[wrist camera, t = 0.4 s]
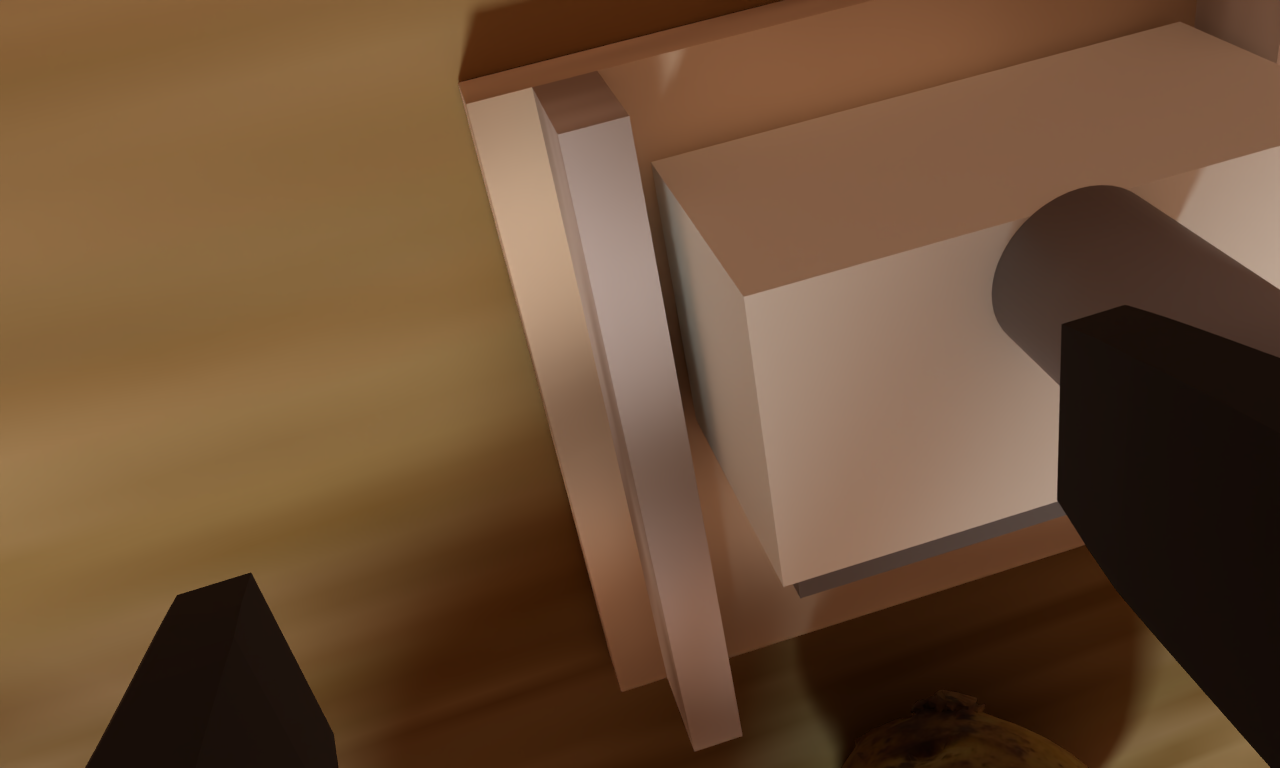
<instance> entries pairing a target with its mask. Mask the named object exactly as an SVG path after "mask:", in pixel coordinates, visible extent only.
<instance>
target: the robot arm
mask: <svg viewBox="0 0 1280 768" xmlns="http://www.w3.org/2000/svg"><path fill="white" fill-rule="evenodd" d="M1057 501H1058V502H1059V504H1060V506H1061V507H1062V509H1063V510H1064V512H1065V513H1066V515H1067V517H1068V518H1069V520H1070V521H1071V523H1072V524H1073V526H1074V528H1075V529H1076V531H1077V532H1078V534H1079V536H1080V537H1081V539H1082V540H1083V542H1084V543H1085V545H1086V547H1087V548H1088V550H1089V551H1090V553H1091V554H1092V556H1093V557H1094V558H1095V560H1096V561H1097V563H1098V564H1099V566H1100V567H1101V569H1102V570H1103V572H1104V573H1105V575H1106V576H1107V577H1108V579H1109V580H1110V582H1111V583H1112V585H1113V586H1114V588H1115V589H1116V591H1117V592H1118V593H1119V594H1120V595H1121V596H1122V598H1123V599H1124V600H1125V601H1126V602H1127V604H1128V605H1129V606H1130V607H1131V608H1132V610H1133V611H1134V612H1135V613H1136V614H1137V615H1138V617H1139V618H1140V619H1141V620H1142V621H1143V622H1144V624H1145V625H1146V626H1147V627H1148V628H1149V629H1150V631H1151V632H1152V633H1153V634H1154V635H1155V636H1156V637H1157V639H1158V640H1159V641H1160V642H1161V643H1162V644H1163V646H1164V647H1165V648H1166V649H1167V650H1168V651H1169V653H1170V654H1171V655H1172V656H1173V657H1174V658H1175V659H1176V661H1177V662H1178V663H1179V664H1180V665H1181V666H1182V667H1183V669H1184V670H1185V671H1186V672H1187V673H1188V674H1189V675H1190V677H1191V678H1192V679H1193V680H1194V681H1195V682H1196V683H1197V684H1198V686H1199V687H1200V688H1201V689H1202V690H1203V691H1204V692H1205V694H1206V695H1207V696H1208V697H1209V698H1210V699H1211V700H1212V702H1213V703H1214V704H1215V705H1216V706H1217V707H1218V708H1219V709H1220V711H1221V712H1222V713H1223V714H1224V715H1225V716H1226V717H1227V719H1228V720H1229V721H1230V722H1231V723H1232V724H1233V725H1234V727H1235V728H1236V729H1237V730H1238V731H1239V732H1240V733H1241V735H1242V736H1243V737H1244V738H1245V739H1246V740H1247V741H1248V742H1249V744H1250V745H1251V746H1252V747H1253V748H1254V749H1255V750H1256V752H1257V753H1258V754H1259V755H1260V756H1261V757H1262V758H1263V760H1264V761H1265V762H1266V763H1267V764H1268V765H1269V766H1270V768H1280V358H1279V357H1276V356H1274V355H1271V354H1268V353H1265V352H1263V351H1260V350H1257V349H1254V348H1252V347H1249V346H1246V345H1243V344H1241V343H1238V342H1235V341H1232V340H1230V339H1227V338H1224V337H1221V336H1219V335H1216V334H1213V333H1210V332H1207V331H1205V330H1202V329H1199V328H1196V327H1193V326H1191V325H1188V324H1185V323H1182V322H1179V321H1176V320H1173V319H1170V318H1167V317H1164V316H1161V315H1158V314H1155V313H1152V312H1149V311H1145V310H1142V309H1138V308H1135V307H1132V306H1128V305H1122V306H1119V307H1116V308H1112V309H1109V310H1106V311H1103V312H1099V313H1096V314H1093V315H1090V316H1086V317H1083V318H1080V319H1077V320H1073V321H1070V322H1067V323H1063V324H1061V363H1060V401H1059V439H1058V477H1057ZM85 768H338V762H337V755H336V748H335V740H334V734H333V732H332V730H331V728H330V726H329V724H328V722H327V720H326V718H325V716H324V714H323V712H322V710H321V708H320V706H319V704H318V702H317V700H316V698H315V696H314V695H313V693H312V691H311V689H310V687H309V685H308V683H307V681H306V679H305V677H304V675H303V673H302V671H301V669H300V667H299V665H298V663H297V661H296V659H295V657H294V655H293V653H292V652H291V650H290V648H289V646H288V644H287V642H286V640H285V638H284V636H283V634H282V632H281V630H280V628H279V626H278V624H277V622H276V620H275V618H274V616H273V614H272V612H271V610H270V608H269V607H268V605H267V603H266V601H265V599H264V597H263V595H262V593H261V591H260V589H259V587H258V585H257V583H256V581H255V579H254V577H253V575H252V573H248V574H245V575H241V576H238V577H235V578H232V579H228V580H225V581H222V582H219V583H215V584H212V585H209V586H206V587H202V588H199V589H196V590H193V591H189V592H186V593H183V594H180V595H177V596H176V598H175V600H174V602H173V603H172V605H171V607H170V608H169V610H168V612H167V614H166V616H165V618H164V619H163V621H162V623H161V625H160V627H159V629H158V631H157V632H156V634H155V636H154V638H153V640H152V642H151V644H150V646H149V648H148V650H147V652H146V654H145V655H144V657H143V659H142V661H141V663H140V665H139V667H138V669H137V671H136V673H135V675H134V677H133V679H132V681H131V683H130V684H129V686H128V688H127V690H126V692H125V694H124V696H123V698H122V700H121V702H120V704H119V706H118V707H117V709H116V711H115V713H114V715H113V717H112V719H111V721H110V723H109V725H108V727H107V728H106V730H105V732H104V734H103V736H102V738H101V740H100V742H99V744H98V745H97V747H96V749H95V751H94V753H93V754H92V756H91V758H90V760H89V762H88V764H87V765H86V767H85Z"/></svg>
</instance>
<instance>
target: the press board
mask: <svg viewBox="0 0 1280 768" xmlns="http://www.w3.org/2000/svg"><path fill="white" fill-rule="evenodd" d="M1176 22H1182V23H1185V24H1187V25H1189V26H1191V27H1194V28H1196V29H1198V30H1201V31H1203V32H1205V33H1207V34H1210V35H1212V36H1214V37H1217V38H1219V39H1221V40H1223V41H1226V42H1228V43H1230V44H1233V45H1235V46H1237V47H1239V48H1242V49H1244V50H1246V51H1249V52H1251V53H1253V54H1255V55H1258V56H1260V57H1262V58H1265V59H1267V60H1269V61H1271V62H1274V63H1276V64H1278V65H1280V0H783V1H779V2H775V3H771V4H767V5H763V6H759V7H755V8H751V9H748V10H744V11H740V12H736V13H732V14H728V15H724V16H720V17H716V18H712V19H708V20H704V21H700V22H696V23H692V24H688V25H684V26H680V27H676V28H672V29H668V30H665V31H661V32H657V33H653V34H649V35H645V36H641V37H637V38H633V39H629V40H625V41H621V42H617V43H613V44H609V45H605V46H601V47H597V48H593V49H589V50H586V51H582V52H578V53H574V54H570V55H566V56H562V57H558V58H554V59H550V60H546V61H542V62H538V63H534V64H530V65H526V66H522V67H518V68H514V69H510V70H506V71H503V72H499V73H495V74H491V75H487V76H483V77H479V78H475V79H471V80H467V81H463V82H459V83H458V85H459V89H460V93H461V97H462V100H463V104H464V108H465V112H466V115H467V119H468V123H469V127H470V130H471V134H472V138H473V142H474V146H475V149H476V153H477V157H478V161H479V164H480V168H481V172H482V176H483V179H484V183H485V187H486V191H487V194H488V198H489V202H490V206H491V210H492V213H493V217H494V221H495V225H496V228H497V232H498V236H499V240H500V243H501V247H502V251H503V255H504V258H505V262H506V266H507V270H508V274H509V277H510V281H511V285H512V289H513V292H514V296H515V300H516V304H517V307H518V311H519V315H520V319H521V322H522V326H523V330H524V334H525V338H526V341H527V345H528V349H529V353H530V356H531V360H532V364H533V368H534V371H535V375H536V379H537V383H538V386H539V390H540V394H541V398H542V402H543V405H544V409H545V413H546V417H547V420H548V424H549V428H550V432H551V435H552V439H553V443H554V447H555V450H556V454H557V458H558V462H559V466H560V469H561V473H562V477H563V481H564V484H565V488H566V492H567V496H568V499H569V503H570V507H571V511H572V514H573V518H574V522H575V526H576V530H577V533H578V537H579V541H580V545H581V548H582V552H583V556H584V560H585V563H586V567H587V571H588V575H589V578H590V582H591V586H592V590H593V594H594V597H595V601H596V605H597V609H598V612H599V616H600V620H601V624H602V627H603V631H604V635H605V639H606V642H607V646H608V650H609V654H610V658H611V661H612V664H613V667H614V670H615V673H616V677H617V680H618V683H619V686H620V689H621V692H624V691H627V690H630V689H633V688H636V687H639V686H643V685H646V684H649V683H652V682H655V681H658V680H661V679H665V678H668V681H669V684H670V687H671V689H672V692H673V695H674V698H675V700H676V703H677V706H678V708H679V711H680V714H681V717H682V719H683V722H684V725H685V728H686V730H687V733H688V736H689V739H690V741H691V744H692V747H693V749H694V752H695V751H698V750H701V749H704V748H707V747H710V746H713V745H716V744H720V743H723V742H726V741H729V740H732V739H735V738H738V737H741V736H743V735H742V729H741V724H740V718H739V713H738V707H737V702H736V697H735V691H734V686H733V680H732V675H731V669H730V664H729V658H731V657H734V656H737V655H740V654H743V653H747V652H750V651H753V650H756V649H759V648H762V647H765V646H769V645H772V644H775V643H778V642H781V641H784V640H787V639H791V638H794V637H797V636H800V635H803V634H806V633H809V632H813V631H816V630H819V629H822V628H825V627H828V626H832V625H835V624H838V623H841V622H844V621H847V620H850V619H854V618H857V617H860V616H863V615H866V614H869V613H872V612H876V611H879V610H882V609H885V608H888V607H891V606H895V605H898V604H901V603H904V602H907V601H910V600H913V599H917V598H920V597H923V596H926V595H929V594H932V593H935V592H939V591H942V590H945V589H948V588H951V587H954V586H958V585H961V584H964V583H967V582H970V581H973V580H976V579H980V578H983V577H986V576H989V575H992V574H995V573H998V572H1002V571H1005V570H1008V569H1011V568H1014V567H1017V566H1020V565H1024V564H1027V563H1030V562H1033V561H1036V560H1039V559H1043V558H1046V557H1049V556H1052V555H1055V554H1058V553H1061V552H1065V551H1068V550H1071V549H1074V548H1077V547H1080V546H1083V545H1085V543H1084V542H1083V540H1082V539H1081V537H1080V536H1079V534H1078V532H1077V531H1076V529H1075V528H1074V526H1073V524H1072V523H1071V521H1070V520H1069V518H1068V517H1067V515H1065V516H1062V517H1058V518H1055V519H1052V520H1049V521H1046V522H1043V523H1039V524H1036V525H1033V526H1030V527H1027V528H1023V529H1020V530H1017V531H1014V532H1011V533H1007V534H1004V535H1001V536H998V537H995V538H992V539H988V540H985V541H982V542H979V543H976V544H972V545H969V546H966V547H963V548H960V549H957V550H953V551H950V552H947V553H944V554H941V555H937V556H934V557H931V558H928V559H925V560H921V561H918V562H915V563H912V564H909V565H906V566H902V567H899V568H896V569H893V570H890V571H886V572H883V573H880V574H877V575H874V576H870V577H867V578H864V579H861V580H858V581H855V582H851V583H848V584H845V585H842V586H839V587H835V588H832V589H829V590H826V591H823V592H819V593H816V594H813V595H810V596H807V597H804V598H800V597H799V595H798V593H797V591H796V589H795V588H794V586H793V584H792V585H788V586H785V587H783V585H782V583H781V581H780V579H779V577H778V575H777V574H776V572H775V570H774V568H773V566H772V564H771V562H770V560H769V558H768V556H767V554H766V552H765V551H764V549H763V547H762V545H761V543H760V541H759V539H758V537H757V535H756V533H755V531H754V530H753V528H752V526H751V524H750V522H749V520H748V518H747V516H746V514H745V512H744V510H743V508H742V507H741V505H740V503H739V501H738V499H737V497H736V495H735V493H734V491H733V489H732V487H731V485H730V484H729V482H728V480H727V478H726V476H725V474H724V472H723V470H722V468H721V466H720V464H719V462H718V461H717V459H716V457H715V455H714V453H713V451H712V449H711V447H710V445H709V443H708V441H707V439H706V438H705V436H704V434H703V432H702V430H701V428H700V426H699V424H698V422H697V420H696V416H695V410H694V405H693V399H692V393H691V388H690V382H689V376H688V371H687V365H686V359H685V354H684V348H683V342H682V337H681V331H680V325H679V320H678V314H677V308H676V302H675V297H674V291H673V285H672V280H671V274H670V268H669V263H668V257H667V251H666V246H665V240H664V234H663V229H662V223H661V217H660V212H659V206H658V200H657V195H656V189H655V183H654V178H653V172H652V166H651V162H653V161H657V160H661V159H664V158H668V157H672V156H676V155H680V154H683V153H687V152H691V151H695V150H698V149H702V148H706V147H710V146H713V145H717V144H721V143H725V142H728V141H732V140H736V139H740V138H743V137H747V136H751V135H755V134H759V133H762V132H766V131H770V130H774V129H777V128H781V127H785V126H789V125H792V124H796V123H800V122H804V121H807V120H811V119H815V118H819V117H822V116H826V115H830V114H834V113H838V112H841V111H845V110H849V109H853V108H856V107H860V106H864V105H868V104H871V103H875V102H879V101H883V100H886V99H890V98H894V97H898V96H901V95H905V94H909V93H913V92H917V91H920V90H924V89H928V88H932V87H935V86H939V85H943V84H947V83H950V82H954V81H958V80H962V79H965V78H969V77H973V76H977V75H980V74H984V73H988V72H992V71H996V70H999V69H1003V68H1007V67H1011V66H1014V65H1018V64H1022V63H1026V62H1029V61H1033V60H1037V59H1041V58H1044V57H1048V56H1052V55H1056V54H1059V53H1063V52H1067V51H1071V50H1075V49H1078V48H1082V47H1086V46H1090V45H1093V44H1097V43H1101V42H1105V41H1108V40H1112V39H1116V38H1120V37H1123V36H1127V35H1131V34H1135V33H1138V32H1142V31H1146V30H1150V29H1154V28H1157V27H1161V26H1165V25H1169V24H1172V23H1176Z"/></svg>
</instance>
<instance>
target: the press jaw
mask: <svg viewBox="0 0 1280 768" xmlns="http://www.w3.org/2000/svg"><path fill="white" fill-rule="evenodd" d="M651 166H652V172H653V178H654V183H655V189H656V195H657V200H658V206H659V212H660V217H661V223H662V229H663V234H664V240H665V246H666V251H667V257H668V263H669V268H670V274H671V280H672V285H673V291H674V297H675V302H676V308H677V314H678V320H679V325H680V331H681V337H682V342H683V348H684V354H685V359H686V365H687V371H688V376H689V382H690V388H691V393H692V399H693V405H694V410H695V416H696V420H697V422H698V424H699V426H700V428H701V430H702V432H703V434H704V436H705V438H706V439H707V441H708V443H709V445H710V447H711V449H712V451H713V453H714V455H715V457H716V459H717V461H718V462H719V464H720V466H721V468H722V470H723V472H724V474H725V476H726V478H727V480H728V482H729V484H730V485H731V487H732V489H733V491H734V493H735V495H736V497H737V499H738V501H739V503H740V505H741V507H742V508H743V510H744V512H745V514H746V516H747V518H748V520H749V522H750V524H751V526H752V528H753V530H754V531H755V533H756V535H757V537H758V539H759V541H760V543H761V545H762V547H763V549H764V551H765V552H766V554H767V556H768V558H769V560H770V562H771V564H772V566H773V568H774V570H775V572H776V574H777V575H778V577H779V579H780V581H781V583H782V585H783V587H785V586H788V585H792V584H793V586H794V588H795V589H796V591H797V593H798V595H799V597H800V598H804V597H807V596H810V595H813V594H816V593H819V592H823V591H826V590H829V589H832V588H835V587H839V586H842V585H845V584H848V583H851V582H855V581H858V580H861V579H864V578H867V577H870V576H874V575H877V574H880V573H883V572H886V571H890V570H893V569H896V568H899V567H902V566H906V565H909V564H912V563H915V562H918V561H921V560H925V559H928V558H931V557H934V556H937V555H941V554H944V553H947V552H950V551H953V550H957V549H960V548H963V547H966V546H969V545H972V544H976V543H979V542H982V541H985V540H988V539H992V538H995V537H998V536H1001V535H1004V534H1007V533H1011V532H1014V531H1017V530H1020V529H1023V528H1027V527H1030V526H1033V525H1036V524H1039V523H1043V522H1046V521H1049V520H1052V519H1055V518H1058V517H1062V516H1065V515H1066V513H1065V512H1064V510H1063V509H1062V507H1061V506H1060V504H1059V502H1058V501H1057V477H1058V439H1059V401H1060V363H1061V324H1063V323H1067V322H1070V321H1073V320H1077V319H1080V318H1083V317H1086V316H1090V315H1093V314H1096V313H1099V312H1103V311H1106V310H1109V309H1112V308H1116V307H1119V306H1122V305H1128V306H1132V307H1135V308H1138V309H1142V310H1145V311H1149V312H1152V313H1155V314H1158V315H1161V316H1164V317H1167V318H1170V319H1173V320H1176V321H1179V322H1182V323H1185V324H1188V325H1191V326H1193V327H1196V328H1199V329H1202V330H1205V331H1207V332H1210V333H1213V334H1216V335H1219V336H1221V337H1224V338H1227V339H1230V340H1232V341H1235V342H1238V343H1241V344H1243V345H1246V346H1249V347H1252V348H1254V349H1257V350H1260V351H1263V352H1265V353H1268V354H1271V355H1274V356H1276V357H1279V358H1280V65H1278V64H1276V63H1274V62H1271V61H1269V60H1267V59H1265V58H1262V57H1260V56H1258V55H1255V54H1253V53H1251V52H1249V51H1246V50H1244V49H1242V48H1239V47H1237V46H1235V45H1233V44H1230V43H1228V42H1226V41H1223V40H1221V39H1219V38H1217V37H1214V36H1212V35H1210V34H1207V33H1205V32H1203V31H1201V30H1198V29H1196V28H1194V27H1191V26H1189V25H1187V24H1185V23H1182V22H1176V23H1172V24H1169V25H1165V26H1161V27H1157V28H1154V29H1150V30H1146V31H1142V32H1138V33H1135V34H1131V35H1127V36H1123V37H1120V38H1116V39H1112V40H1108V41H1105V42H1101V43H1097V44H1093V45H1090V46H1086V47H1082V48H1078V49H1075V50H1071V51H1067V52H1063V53H1059V54H1056V55H1052V56H1048V57H1044V58H1041V59H1037V60H1033V61H1029V62H1026V63H1022V64H1018V65H1014V66H1011V67H1007V68H1003V69H999V70H996V71H992V72H988V73H984V74H980V75H977V76H973V77H969V78H965V79H962V80H958V81H954V82H950V83H947V84H943V85H939V86H935V87H932V88H928V89H924V90H920V91H917V92H913V93H909V94H905V95H901V96H898V97H894V98H890V99H886V100H883V101H879V102H875V103H871V104H868V105H864V106H860V107H856V108H853V109H849V110H845V111H841V112H838V113H834V114H830V115H826V116H822V117H819V118H815V119H811V120H807V121H804V122H800V123H796V124H792V125H789V126H785V127H781V128H777V129H774V130H770V131H766V132H762V133H759V134H755V135H751V136H747V137H743V138H740V139H736V140H732V141H728V142H725V143H721V144H717V145H713V146H710V147H706V148H702V149H698V150H695V151H691V152H687V153H683V154H680V155H676V156H672V157H668V158H664V159H661V160H657V161H653V162H651Z"/></svg>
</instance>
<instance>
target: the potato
mask: <svg viewBox="0 0 1280 768" xmlns="http://www.w3.org/2000/svg"><path fill="white" fill-rule="evenodd" d="M976 701H977V698H976V697H973V696H970V695H966V694H961V693H959V692H954V691H949V690H939V691H937V692H935V694H934V696H931V697H929V698H927V699H924V700H920V701H917V702H916V703H915V704H914V705H913V706H912V708H911V712H915V714H914V715H913V716H912V717H910V718H908V719H901V718H899V719H896V720H893V721H891V722H889V723H886V724H884V725H882V726H879V727H876V728H873V729H871V730H870V731H869V732H868V733H866V734H864V735H863V736H861V737H859V738H857V739H855V746H856V747H855V749H854V750H853V752H852V753H851V754H850V756H849V757H848V759H847V760H846V761H845V763H844V764H843V766H842V767H841V768H1089V767H1088V766H1086V765H1085V764H1084V763H1083V762H1081V761H1080V760H1079V759H1077V758H1076V757H1075V756H1073V755H1072V754H1071V753H1070V752H1068V751H1067V750H1065V749H1063V748H1062V747H1060V746H1059V745H1057V744H1055V743H1054V742H1052V741H1050V740H1049V739H1047V738H1045V737H1043V736H1041V735H1039V734H1037V733H1034V732H1032V731H1030V730H1028V729H1026V728H1024V727H1021V726H1019V725H1017V724H1014V723H1011V722H1008V721H1006V720H1003V719H999V718H997V717H994V716H991V715H989V714H986V713H984V712H983V710H984V707H985V705H986V704H982V705H977V704H976Z"/></svg>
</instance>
